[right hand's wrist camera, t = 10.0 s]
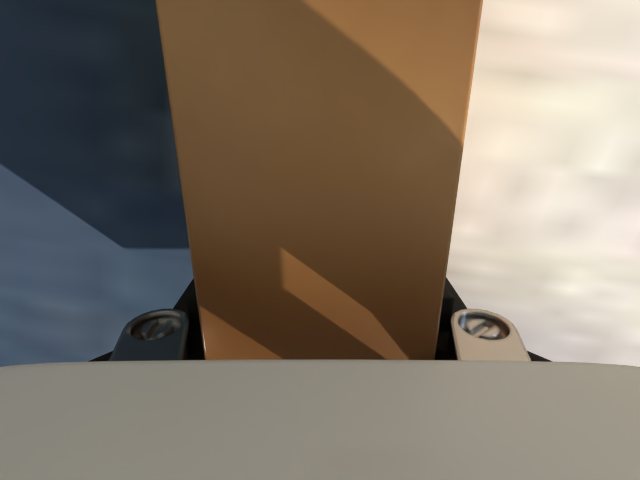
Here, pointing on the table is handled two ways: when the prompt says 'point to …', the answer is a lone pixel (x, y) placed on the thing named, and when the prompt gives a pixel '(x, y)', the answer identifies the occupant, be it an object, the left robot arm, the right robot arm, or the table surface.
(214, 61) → the beam
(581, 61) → the table surface
